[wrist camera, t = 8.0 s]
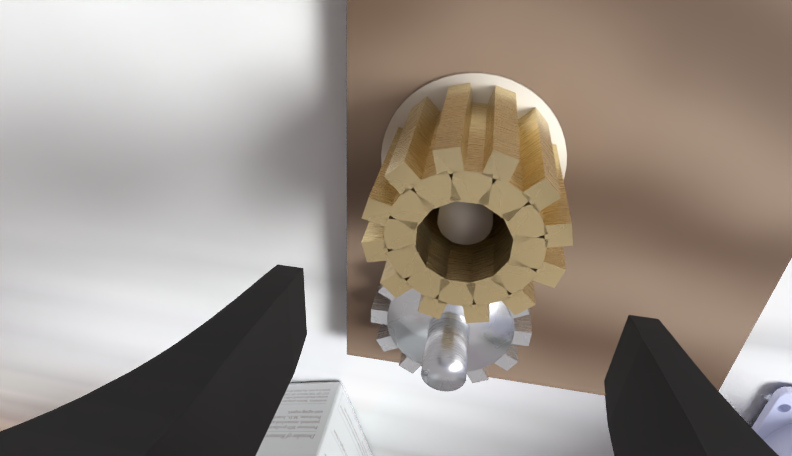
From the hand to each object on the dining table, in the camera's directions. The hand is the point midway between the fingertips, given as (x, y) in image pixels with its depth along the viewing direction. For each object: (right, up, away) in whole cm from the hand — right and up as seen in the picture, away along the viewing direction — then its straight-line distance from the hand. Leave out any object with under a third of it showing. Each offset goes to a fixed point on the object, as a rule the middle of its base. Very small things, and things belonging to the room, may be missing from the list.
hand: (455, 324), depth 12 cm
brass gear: (+1, +4, +7) cm, 8 cm away
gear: (+1, -1, +11) cm, 11 cm away
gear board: (+5, +4, +9) cm, 11 cm away
